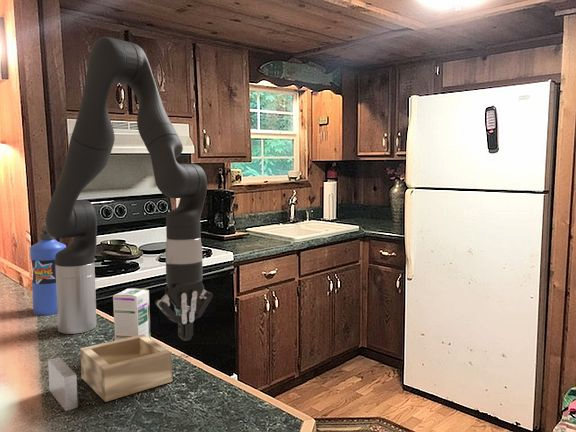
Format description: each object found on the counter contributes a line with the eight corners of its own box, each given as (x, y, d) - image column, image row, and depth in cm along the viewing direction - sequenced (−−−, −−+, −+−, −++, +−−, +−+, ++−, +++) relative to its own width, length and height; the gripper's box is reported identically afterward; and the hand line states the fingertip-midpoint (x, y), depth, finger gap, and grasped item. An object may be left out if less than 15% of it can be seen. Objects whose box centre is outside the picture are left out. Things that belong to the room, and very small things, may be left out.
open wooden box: (81, 377, 96) (80, 348, 96) (143, 361, 105) (143, 334, 104) (105, 402, 86) (104, 369, 86) (171, 381, 95) (171, 352, 94)
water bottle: (58, 315, 136) (55, 227, 134) (25, 315, 137) (22, 227, 134) (73, 306, 146) (70, 223, 143) (43, 305, 146) (39, 223, 143)
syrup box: (138, 360, 106) (137, 295, 104) (114, 358, 107) (112, 293, 105) (151, 351, 111) (150, 289, 110) (127, 348, 112) (126, 287, 111)
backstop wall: (49, 390, 91) (48, 359, 90) (60, 387, 92) (59, 357, 92) (65, 411, 84) (64, 377, 83) (77, 407, 85) (76, 374, 84)
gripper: (202, 253, 109) (203, 328, 110) (146, 260, 100) (148, 341, 102) (220, 257, 103) (221, 337, 105) (163, 265, 95) (165, 351, 96)
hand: (185, 339), depth 103 cm, fingers closed
